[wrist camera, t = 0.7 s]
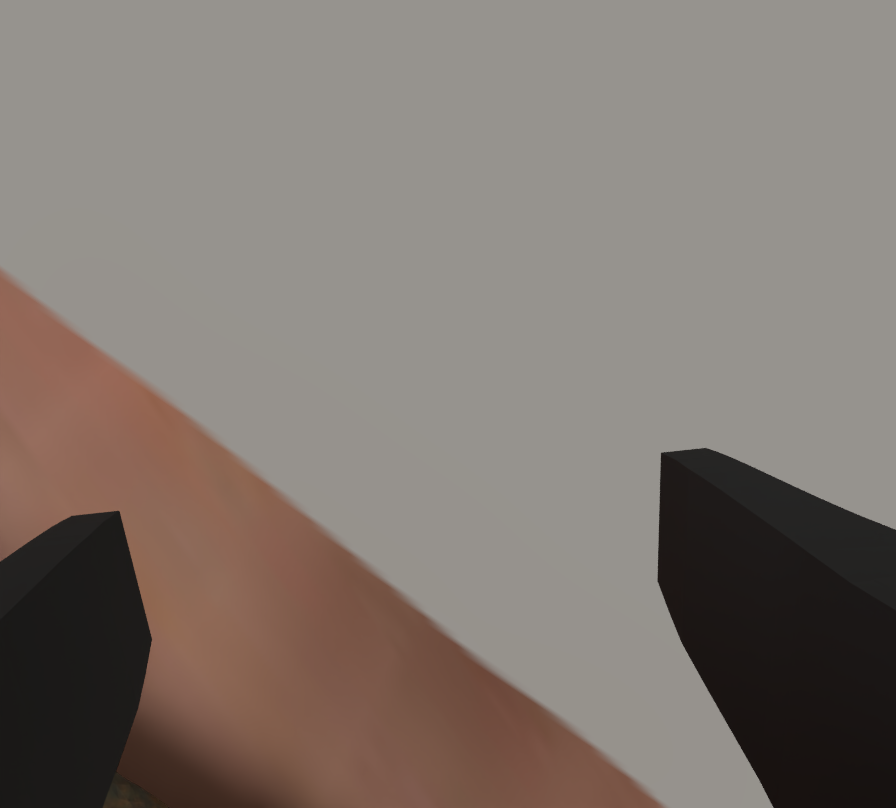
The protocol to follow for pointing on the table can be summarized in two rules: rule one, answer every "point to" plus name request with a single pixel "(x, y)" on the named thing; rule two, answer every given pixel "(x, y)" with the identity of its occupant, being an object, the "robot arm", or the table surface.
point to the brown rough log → (129, 795)
